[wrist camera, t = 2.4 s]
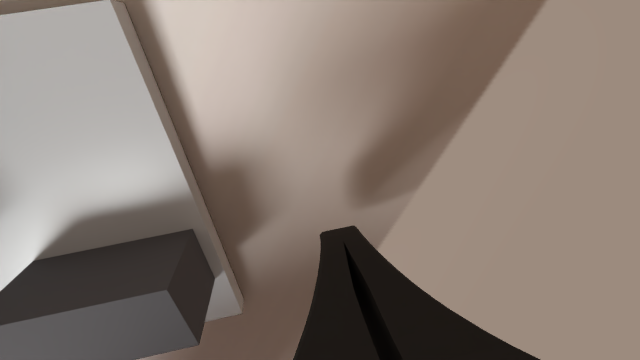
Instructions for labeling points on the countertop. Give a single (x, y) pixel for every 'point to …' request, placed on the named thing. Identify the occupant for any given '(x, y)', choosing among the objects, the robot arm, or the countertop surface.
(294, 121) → the countertop surface
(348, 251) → the robot arm
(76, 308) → the grey rectangular prism
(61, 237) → the board
